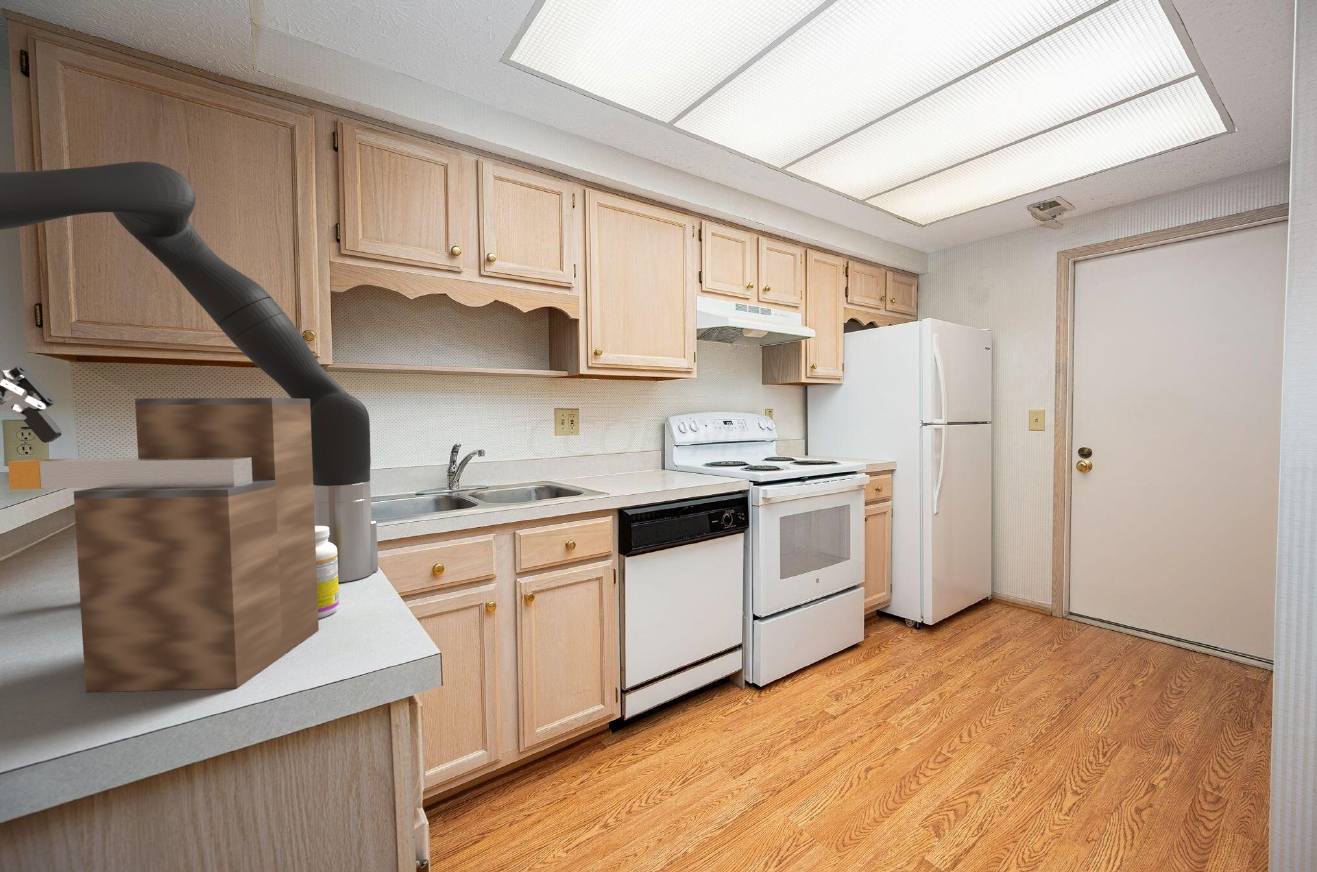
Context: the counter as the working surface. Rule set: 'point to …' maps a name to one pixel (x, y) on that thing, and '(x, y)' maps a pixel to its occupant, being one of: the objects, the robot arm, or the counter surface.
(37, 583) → the counter surface
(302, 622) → the stand
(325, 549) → the supplement bottle
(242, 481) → the bar
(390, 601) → the counter surface
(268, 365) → the robot arm
